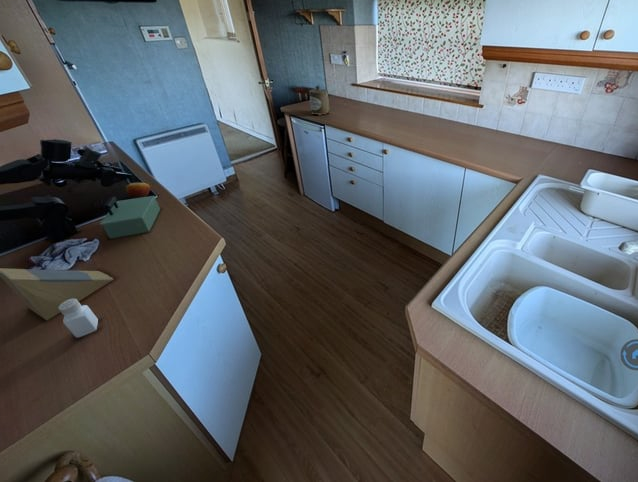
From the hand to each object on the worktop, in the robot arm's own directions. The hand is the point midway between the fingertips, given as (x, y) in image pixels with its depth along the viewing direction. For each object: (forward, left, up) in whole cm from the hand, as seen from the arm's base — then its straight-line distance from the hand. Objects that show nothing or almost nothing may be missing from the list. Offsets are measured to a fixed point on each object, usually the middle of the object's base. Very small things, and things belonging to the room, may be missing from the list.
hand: (126, 172), depth 114 cm
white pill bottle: (-45, -44, -15) cm, 65 cm away
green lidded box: (-10, -11, -15) cm, 21 cm away
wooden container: (+148, 0, -15) cm, 149 cm away
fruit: (+4, +6, -15) cm, 16 cm away
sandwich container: (-39, -28, -15) cm, 50 cm away
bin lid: (-10, -11, -9) cm, 17 cm away
